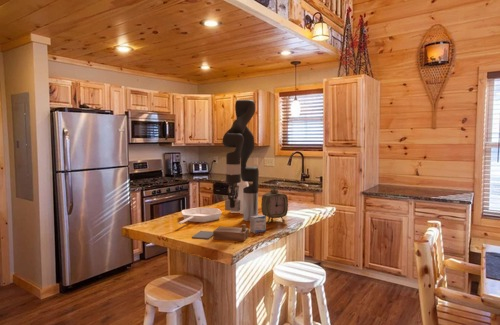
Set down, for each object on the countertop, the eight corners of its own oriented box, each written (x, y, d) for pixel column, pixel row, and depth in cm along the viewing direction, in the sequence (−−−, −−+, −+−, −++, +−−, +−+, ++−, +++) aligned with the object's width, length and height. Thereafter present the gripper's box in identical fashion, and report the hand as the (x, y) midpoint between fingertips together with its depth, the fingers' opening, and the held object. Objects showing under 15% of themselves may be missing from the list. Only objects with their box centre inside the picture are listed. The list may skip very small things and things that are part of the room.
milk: (249, 210, 238) (249, 174, 236) (248, 214, 226) (248, 175, 225) (233, 210, 239) (233, 174, 237) (230, 213, 228) (230, 175, 226)
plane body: (219, 233, 178) (219, 220, 177) (248, 235, 174) (248, 222, 174) (213, 239, 168) (213, 225, 167) (244, 241, 164) (244, 227, 164)
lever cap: (227, 208, 173) (227, 197, 172) (240, 209, 171) (240, 198, 171) (225, 210, 169) (225, 199, 169) (238, 211, 168) (238, 199, 167)
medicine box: (254, 233, 178) (254, 217, 177) (249, 231, 182) (249, 216, 181) (266, 231, 183) (266, 215, 182) (261, 229, 186) (261, 214, 186)
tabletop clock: (267, 224, 197) (267, 182, 196) (259, 221, 205) (260, 181, 204) (287, 222, 204) (288, 181, 202) (279, 219, 212) (280, 179, 210)
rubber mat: (200, 231, 181) (200, 230, 181) (216, 232, 179) (216, 231, 179) (191, 238, 169) (191, 236, 169) (208, 239, 167) (208, 238, 167)
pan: (228, 215, 222) (228, 209, 222) (202, 231, 182) (202, 223, 182) (190, 212, 230) (190, 206, 229) (157, 227, 190) (157, 219, 190)
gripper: (230, 171, 176) (230, 203, 178) (221, 174, 163) (222, 209, 164) (243, 171, 175) (243, 204, 176) (236, 174, 161) (236, 210, 162)
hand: (233, 206), depth 170 cm, fingers closed on lever cap, 3 cm apart
